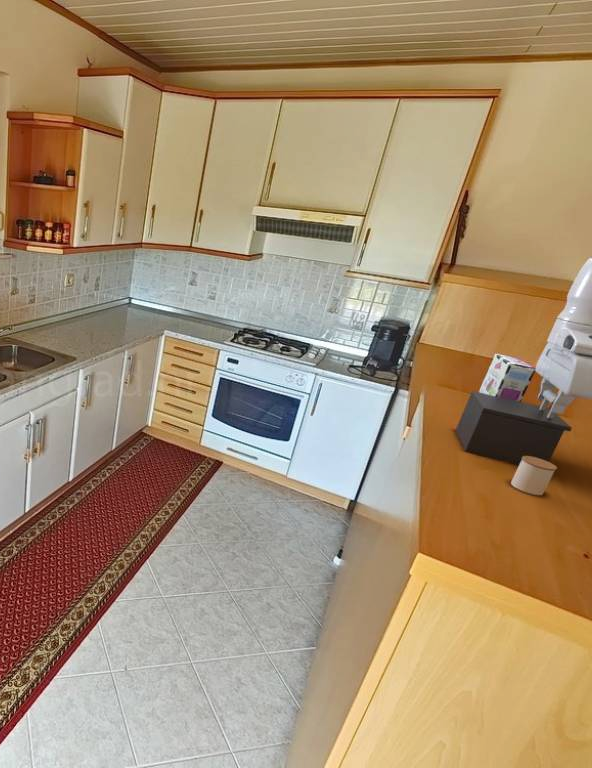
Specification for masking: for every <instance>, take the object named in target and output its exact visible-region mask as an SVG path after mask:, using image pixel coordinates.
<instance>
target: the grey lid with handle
mask: <svg viewBox="0 0 592 768" xmlns="http://www.w3.org/2000/svg"><path fill="white" fill-rule="evenodd" d="M470 395H471V396H472V397H473V398H474V400H475V401H476V403H477V404H478V406H479V407H480V409H481V410H482V411H483V412H487V413H492V414H496V415H500V416H505V417H509V418H513V419H518V420H522V421H526V422H531V423H535V424H539V425H544V426H548V427H552V428H557V429H561V430H564V432H571V431H572V428H573V427H572V426H571V425H569V423H567V422H566V421H565V420H564V419H563V418H562V417H561V416H559V414H558V413H554V412H552V411H551V410H550V409H549V407H548V405H549V404H551V403H552V401H555V399H556V398H557V396H558V393H556V392H555V390H554V391H552V390H546V391H544V392H543V394H542V395H543V397H544V400H543V402H542V401H541V404H540V405H538V404H535V403H530V402H524V401H521V402H520V401H515V400H511V399H506V398H502V397H497V396H492V395H488V394H483V393H479V391H474V390H472V391H471V392H470ZM549 402H550V403H549Z"/></svg>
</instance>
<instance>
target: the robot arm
mask: <svg viewBox="0 0 592 768" xmlns="http://www.w3.org/2000/svg"><path fill="white" fill-rule="evenodd" d="M546 342H547V344H545V347H544V349H543V350H542V352H541V354H540V356H539V358H538V360H537V362H536V365H535V368H536V369H535V373H537V374H538V375H540V376H541V377H542V380H541V381H540V382H541V383H540V391H539V393H538V396H537V400H539V401H540V402H541V403H542V402H543V400H544V397H543V395H542V394H543V392H544V391H546V390H552V391H554V392H555V389H558V392H557V395H558V396H557V398H556V399H555V401H552V403H550V402H549V403H548V404H550V406H549V407H548V408H549V409H550V410H551V411H552V412H554V413H556V414H557V415H562V414H564V413H565V411H566V409H567V408H568V406H569V405H570V404H571V403H572V402H574V400H575V399H576V398H577V399H583V400H591V399H592V256H590V258H588V259H587V260H586V261H585V263H584V264H583V265H582V266H581V269H580V270H579V271H578V273H577V275H576V277H575V279H574V280H573V283H572V284H571V286H570V289H569V290H568V293H567V296H566V303H565V306H564V308H563V309H562V311H561V312H560V313H559V314H558V315H557V318H556V319H555V322H554V324H553V326H552V328H551V331H550V333H549V335H548V338H547V340H546Z"/></svg>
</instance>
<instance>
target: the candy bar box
mask: <svg viewBox="0 0 592 768" xmlns="http://www.w3.org/2000/svg"><path fill="white" fill-rule="evenodd" d="M535 369H536V367H534V366H532V365H531V364H529V363H528V362H526V361H524V360H523V359H521V358H519V357H514V356H511V355H505V354H499V353H494V355H493V359H492V360H491V363H490V365H489V367H488V369H487V372H486V374H485V376H484V379H483V380H482V384H481V386H480V388H479V390H478V392H479V393H483V394H488V395H492V396H497V397H502V398H506V399H511V400H515V401H520V402H522V400H523V398H524V396H525V394H526V392H527V390H528V388H529V386H530V384H531V381H532V380H533V378H534V375H535V373H536V371H535Z"/></svg>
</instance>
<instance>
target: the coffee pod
mask: <svg viewBox="0 0 592 768" xmlns="http://www.w3.org/2000/svg"><path fill="white" fill-rule="evenodd" d="M557 469H558V467H557V466H556V465H555V464H554V463H551V462H550V461H549V462H548V461H545V460H542V459H539V458H536V457H531V456H523V457H522V460H521V462H520V465H518V467H517V469H516V471H515V473H514V475H513V477H512V480H511V482H510V484H511V486H512V487H514V488H515V489H516V490H519V491H521V492H524V493H527V494H530V495H534V496H543V494H544V493H545V491H546V489H547V488H548V485H549V483H550V482H551V479H552V477H553V475H554V473H555V471H556V470H557Z"/></svg>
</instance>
